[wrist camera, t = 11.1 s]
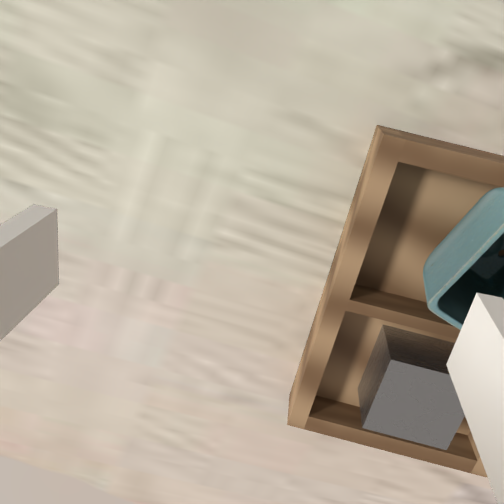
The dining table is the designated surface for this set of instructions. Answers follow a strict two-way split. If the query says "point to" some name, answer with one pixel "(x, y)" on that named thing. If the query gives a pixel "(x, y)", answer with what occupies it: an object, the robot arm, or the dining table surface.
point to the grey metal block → (410, 389)
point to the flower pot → (467, 261)
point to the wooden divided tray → (388, 283)
